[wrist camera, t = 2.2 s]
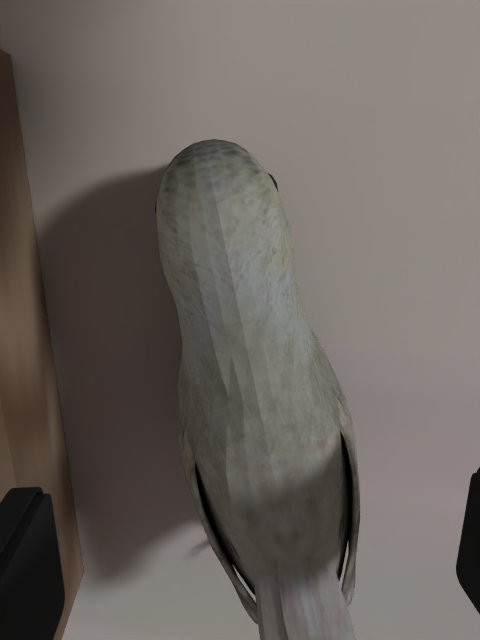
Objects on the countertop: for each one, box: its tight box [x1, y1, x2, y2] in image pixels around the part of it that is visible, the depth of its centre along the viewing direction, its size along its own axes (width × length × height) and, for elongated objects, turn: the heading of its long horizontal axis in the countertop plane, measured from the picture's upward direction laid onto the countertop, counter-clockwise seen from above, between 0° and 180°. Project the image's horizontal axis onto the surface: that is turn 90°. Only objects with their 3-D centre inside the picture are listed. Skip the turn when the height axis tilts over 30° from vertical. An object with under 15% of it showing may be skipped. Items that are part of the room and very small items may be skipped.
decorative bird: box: [155, 139, 360, 640], centre depth 13 cm, size 5×16×8 cm, turn 11°
